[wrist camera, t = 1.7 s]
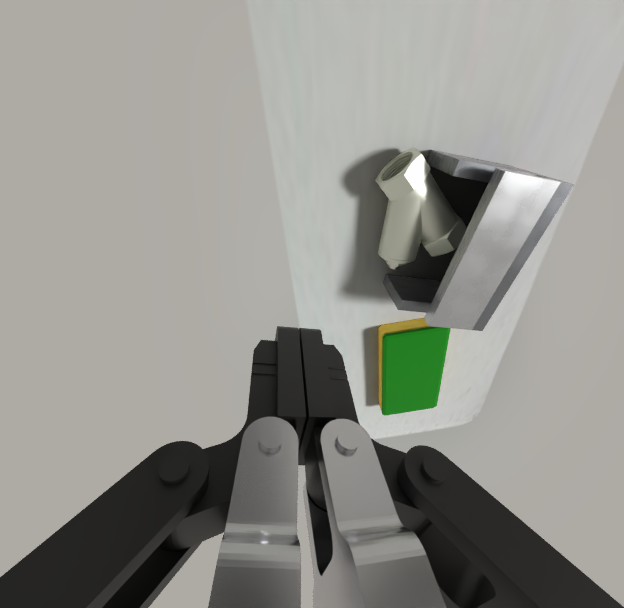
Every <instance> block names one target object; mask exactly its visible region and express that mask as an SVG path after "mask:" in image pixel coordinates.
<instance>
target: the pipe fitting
mask: <svg viewBox="0 0 624 608" xmlns="http://www.w3.org/2000/svg"><path fill="white" fill-rule="evenodd" d="M430 169H431V168H430V167H429V165H428V163H427V162H426V160H425V159H424V157H423V155H422V154H421V153H420V152H419V151H418V150H416V149H415V148H412V149H409V150H407V151H404V152H403V153H401V154H399V155H398V156H396V157H395V158H394V159H392V160H391V161H390V162H389V163H388V164H387V165H386V166H385V167H384V168H383V169H382V170H381V172H380V173H379V175H378V176H377V178H376V180H375V181H376V182H377V183H378V185H379V186H380V188H381V189H382V190H383V192H384V193H385V194H386V196H387V197H388V198H389V201H388V206H387V211H386V215H385V220H384V225H383V230H382V235H381V239H380V244H379V249H378V254H379V256H380V257H381V258H383V259H384V260H385V262H386V263H387V264H388V265H389V267H390V268H391V269H398V268H399V267H401V266H404V265H405V264H408V263H411V262H413V261H414V260H415V259H416V256H417V253H418V249H419V246H420V242H421V243H422V244H423V246H424V247H425V249H426V250H427V251H428V253H429V254H430V255H431V256H438V255H443V254H446V253H448V252H451V251H453V250H455V249H456V248H457V247H458V246H459V244H460V242H461V240H462V238H463V236H464V233H465V231H466V229H467V227H466V226H465V224H464V222H463V221H462V219H461V218H460V217H459V216H458V215H457V214H456V213H455V212H454V211H453V209H452V207H451V206H450V204H449V203H448V201H447V199H446V198H445V196H444V194H443V193H442V191H441V190H440V188H439V186H438V185H437V183H436V181H435V180H434V178H433V177H432V175H431V173H430V172H429V171H430Z"/></svg>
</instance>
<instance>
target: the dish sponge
mask: <svg viewBox="0 0 624 608" xmlns="http://www.w3.org/2000/svg"><path fill="white" fill-rule="evenodd" d="M449 333H450V328H445V327H433V326H428V324H427V323H426V321H425V320H424V318H421V319H415V320H409V321H403V322H396V323H390V324H384V325H381V326H380V327H379V328H378V344H379V405H380V408H381V410H382V414H383V415H391V414H397V413H404V412H410V411H416V410H422V409H429V408H434V407H436V406H437V401H438V395H439V390H440V384H441V378H442V373H443V367H444V362H445V356H446V350H447V345H448V339H449Z"/></svg>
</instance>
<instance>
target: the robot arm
mask: <svg viewBox="0 0 624 608" xmlns="http://www.w3.org/2000/svg"><path fill="white" fill-rule="evenodd" d="M298 465H305V471H306V482H305V485H304V490H303V494H304V503H305V510H306V519H307V526H308V534H309V541H310V549H311V557H312V565H313V574H314V589H313V608H624V607H623V606H621V605H620V604H619V603H618V602H617V601H616V600H614V599H613V598H612V597H611V596H610V595H609V594H607V593H606V592H605V591H604V590H603V589H601V588H600V587H599V586H598V585H597V584H595V583H594V582H593V581H592V580H591V579H590V578H589V577H587V576H586V575H585V574H584V573H582V572H581V571H580V570H579V569H578V568H577V567H576V566H574V565H573V564H572V563H571V562H570V561H568V560H567V559H566V558H565V557H564V556H562V555H561V554H560V553H559V552H558V551H557V550H555V549H554V548H553V547H552V546H551V545H550V544H548V543H547V542H546V541H545V540H544V539H542V538H541V537H540V536H539V535H538V534H537V533H535V532H534V531H533V530H532V529H531V528H530V527H528V526H527V525H526V524H525V523H524V522H522V521H521V520H520V519H519V518H518V517H516V516H515V515H514V514H513V513H512V512H511V511H509V510H508V509H507V508H506V507H505V506H504V505H502V504H501V503H500V502H499V501H498V500H496V499H495V498H494V497H493V496H492V495H491V494H489V493H488V492H487V491H486V490H485V489H483V488H482V487H481V486H480V485H479V484H478V483H476V482H475V481H474V480H473V479H472V478H471V477H469V476H468V475H467V474H466V473H465V472H463V471H462V470H461V469H460V468H459V467H457V466H456V465H455V464H454V463H453V462H452V461H450V460H449V459H448V458H447V457H446V456H444V455H443V454H442V453H441V452H439V451H437V450H436V449H434V448H431V447H428V446H415V447H413V448H411V449H410V450H409V451H408V452H407V453H404V452H401V451H398V450H395V449H392V448H389V447H387V446H384V445H381V444H379V443H377V442H376V441H374V440H373V439H371V438H370V436H369V434H368V433H367V431H366V430H365V429H364V428H363V427H362V426H360V424H359V422H358V419H357V415H356V411H355V407H354V403H353V398H352V394H351V390H350V386H349V382H348V381H347V374H346V370H345V366H344V362H343V358H342V355H341V354H340V353H339V351H338V350H337V349H336V347H335V346H334V345H325V344H323V340H322V334H321V330H318V329H306V328H299V329H298V328H292V327H279V326H278V327H277V331H276V338H275V341H268V340H261V341H260V342H259V344H258V345H257V347H256V348H255V349H254V354H253V364H252V375H251V385H250V395H249V406H248V415H247V420H246V423H245V425H244V427H243V428H242V430H241V431H240V432H239V433H238V434H237V435H236V436H235V437H233V438H232V439H230V440H229V441H227V442H225V443H222V444H219V445H215V446H212V447H209V448H206V449H202V448H201V447H200V446H198V445H197V444H194V443H192V442H188V441H179V442H178V441H177V442H172V443H169V444H166V445H164V446H162V447H161V448H159V449H157V450H156V451H155V452H153V453H152V454H151V455H150V456H148V457H147V458H146V459H145V460H143V461H142V462H141V463H140V464H139V465H137V466H136V467H135V468H134V469H133V470H131V471H130V472H129V473H128V474H126V475H125V476H124V477H123V478H121V479H120V480H119V481H118V482H117V483H115V484H114V485H113V486H112V487H111V488H109V489H108V490H107V491H106V492H104V493H103V494H102V495H101V496H99V497H98V498H97V499H96V500H94V501H93V502H92V503H91V504H90V505H88V506H87V507H86V508H85V509H83V510H82V511H81V512H80V513H79V514H77V515H76V516H75V517H74V518H72V519H71V520H70V521H69V522H68V523H66V524H65V525H64V526H63V527H61V528H60V529H59V530H58V531H56V532H55V533H54V534H53V535H52V536H50V537H49V538H48V539H47V540H46V541H44V542H43V543H42V544H41V545H39V546H38V547H37V548H36V549H34V550H33V551H32V552H31V553H30V554H29V555H27V556H26V557H25V558H23V559H22V560H21V561H20V562H19V563H18V564H16V565H15V566H14V567H12V568H11V569H10V570H9V571H8V572H6V573H5V574H4V575H3V576H1V577H0V608H148V607H149V606H150V605H151V604H152V602H153V601H154V600H155V599H156V598H157V596H158V595H159V594H160V593H161V591H162V590H163V589H164V588H165V587H166V585H167V584H168V583H169V582H170V580H171V579H172V578H173V577H174V576H175V574H176V573H177V572H178V571H179V570H180V568H181V567H182V566H183V565H184V563H185V562H186V561H187V560H188V558H189V557H190V556H191V555H192V553H193V552H194V551H195V550H196V549H197V548H198V546H199V545H200V544H201V542H202V541H204V540H207V539H209V538H211V537H214V536H216V535H218V534H221V533H223V532H224V535H223V538H222V541H221V546H220V550H219V555H218V560H217V565H216V570H215V575H214V581H213V585H212V591H211V596H210V601H209V606H208V608H300V605H301V553H300V543H299V540H298V537H297V495H298V493H297V491H298Z"/></svg>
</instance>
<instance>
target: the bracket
mask: <svg viewBox="0 0 624 608" xmlns="http://www.w3.org/2000/svg"><path fill="white" fill-rule="evenodd" d="M426 162H427V163H428V165H430V166H432V167H434V168H436V169H439V170H441V171H443V172H445V173H447V174H450V175H452V176H456V177H461V178H466V179H472V180H477V181H482V182H488V185H487V187H486V189H485V191H484V194H483V196H482V198H481V200H480V202H479V204H478V206H477V208H476V210H475V212H474V215H473V217H472V219H471V221H470V223H469V225H468V227H467V229H466V231H465V233H464V236H463V238H462V240H461V242H460V244H459V246H458V248H457V250H456V252H455V254H454V256H453V259H452V261H451V263H450V265H449V267H448V269H447V271H446V273H445V275H444V277H443V280H442V281H437V280H428V279H420V278H412V277H403V276H395V275H386V277H385V280H384V283H383V284H384V286H385V287H386V289H387V291H388V293H389V295H390V296H391V298H392V300H393V302H394V303H395V305H396V307H397V309H398V310H406V311H416V312H426V315H425V317H424V320H425V321H426V323H427V324H428V326H433V327H445V328H456V329H467V330H478V331H483V329H484V327H485V326H486V324H487V323H488V321H489V319H490V318H491V316H492V315H493V313H494V311H495V310H496V308H497V307H498V305H499V303H500V302H501V300H502V299H503V297H504V295H505V294H506V292H507V291H508V289H509V287H510V286H511V284H512V283H513V281H514V280H515V278H516V276H517V275H518V273H519V272H520V270H521V268H522V267H523V265H524V264H525V262H526V260H527V259H528V257H529V256H530V254H531V252H532V251H533V249H534V248H535V246H536V244H537V243H538V241H539V240H540V238H541V237H542V235H543V233H544V232H545V230H546V229H547V227H548V225H549V224H550V222H551V221H552V219H553V217H554V216H555V214H556V213H557V211H558V209H559V208H560V206H561V205H562V203H563V201H564V200H565V198H566V197H567V195H568V194H569V192H570V190H571V189H572V187H573V186H574V185H573V184H570V183H567V182H563V181H560V180H556V179H553V178H550V177H546V176H543V175H539V174H536V173H533V172H529V171H526V170H523V169H519V168H516V167H512V166H509V165H504V164H499V163H494V162H489V161H484V160H479V159H474V158H469V157H464V156H459V155H454V154H449V153H444V152H439V151H434V150H430V153H429V156H428V159H427V161H426Z"/></svg>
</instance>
